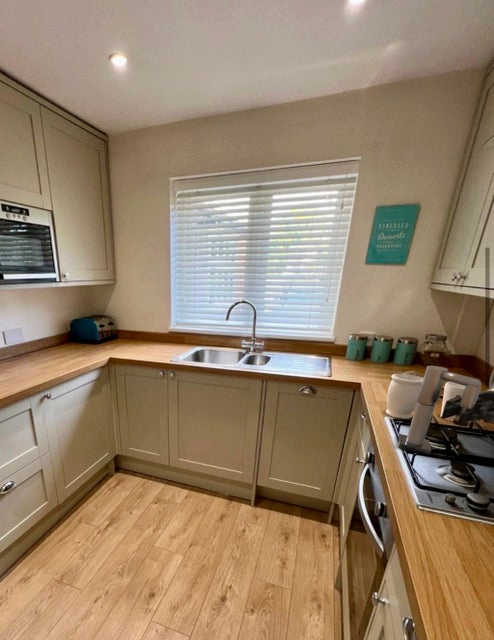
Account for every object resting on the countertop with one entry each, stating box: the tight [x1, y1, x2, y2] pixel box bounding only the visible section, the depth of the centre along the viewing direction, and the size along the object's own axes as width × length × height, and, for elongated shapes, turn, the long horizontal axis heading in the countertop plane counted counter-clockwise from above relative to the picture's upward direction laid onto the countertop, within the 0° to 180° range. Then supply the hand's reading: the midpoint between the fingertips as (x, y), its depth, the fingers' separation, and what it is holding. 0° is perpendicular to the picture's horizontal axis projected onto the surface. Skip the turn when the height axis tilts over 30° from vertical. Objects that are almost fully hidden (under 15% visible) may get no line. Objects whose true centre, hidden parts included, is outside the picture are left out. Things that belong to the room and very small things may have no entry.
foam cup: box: [440, 381, 466, 422], centre depth 122 cm, size 10×9×13 cm
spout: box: [417, 365, 482, 428], centre depth 92 cm, size 14×5×13 cm, turn 20°
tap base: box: [397, 402, 436, 456], centre depth 100 cm, size 8×8×14 cm
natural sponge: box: [402, 370, 423, 378], centre depth 151 cm, size 9×9×10 cm
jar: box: [385, 373, 424, 420], centre depth 123 cm, size 11×10×15 cm
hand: (452, 416), depth 85 cm, fingers closed on spout, 3 cm apart
